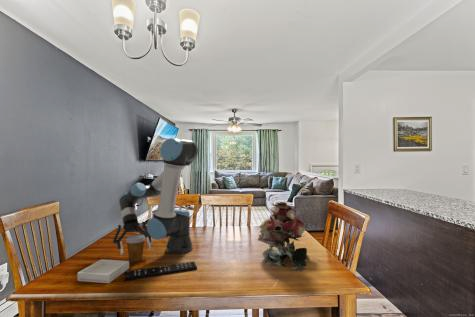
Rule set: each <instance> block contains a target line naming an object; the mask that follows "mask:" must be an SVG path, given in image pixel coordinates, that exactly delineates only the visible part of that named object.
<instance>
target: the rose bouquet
mask: <svg viewBox="0 0 475 317" xmlns="http://www.w3.org/2000/svg"><path fill="white" fill-rule="evenodd" d="M269 209H270V211H271V213H272V214H270V215H269V218H266V219H265V220H263V221H262V222H261V224H260V225H259V229H260V231H259V233H260V234H258V238H257V240H258V241H259V242H262V243H264V244H267V245H269V246H268V248H266V250H264V251H263V252H262V255H263V256H264V257H263V258H264V259H262V262H266V265H268V266H269V267H272V266H274V265H276V266H282V267H285V268H287V267H288V265H286V264H284V262H285V259H288V260H290V261H291V262H290V263H291V264H292V265H294V266H295V267H290V269H291V270H292V269H293V270H295V271H298V272H299V271H300V272H302V271H305V270H306V267H307V262H306V261H307V259H308V253H307V252H308V248H306V247H298V248H296V246H295V244H294V243H295V241H299V242H300V241H301V240H300V239H299V238H302V237H305V236H302V235H303V233H304V232H305V231H307V230H306V228H305V226H306V225H305V223H304V222H303V221H302V220H300V218H299V217H298V216H296V213H295V212H293V210H295V207H293V206H290V205H289V204H288V202H284V201H281V202H280V201H279V202H275V203H274V204H273V207H271V208H269ZM290 239H291V240H293V241H291V240H290ZM290 241H291V243H290ZM305 243H306V244H307V242H305ZM276 248H277V249H276Z"/></svg>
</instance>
